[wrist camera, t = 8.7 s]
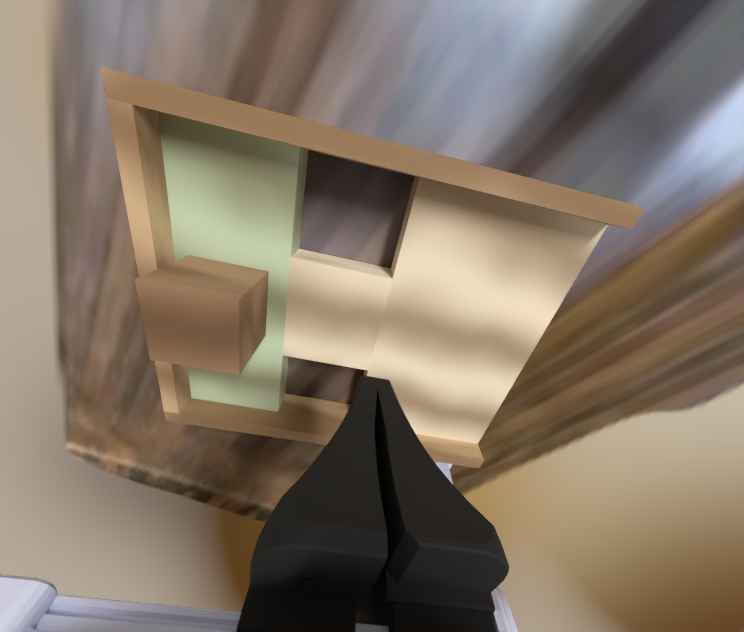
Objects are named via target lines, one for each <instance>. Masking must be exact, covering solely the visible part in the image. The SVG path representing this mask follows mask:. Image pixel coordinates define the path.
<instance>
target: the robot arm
mask: <svg viewBox="0 0 744 632" xmlns="http://www.w3.org/2000/svg"><path fill="white" fill-rule="evenodd" d="M451 466H452V464H448V463H441V462H434V461H433V459H432V458H431V457H430V455H429V454H428V452H427V451H426V449H425V448H424V446H423V445H422V443H421V442H420V440H419V439H418V437H417V435H416V434H415V432H414V430H413V428H412V427H411V425H410V423H409V421H408V419H407V417H406V416H405V414H404V412H403V410H402V408H401V406H400V403H399V401H398V399H397V397H396V394H395V392H394V390H393V387H392V385H391V382H390V381H389V380H387V379H382V378H376V377H370V376H365V375H362V376H360V378H359V382H358V385H357V389H356V393H355V397H354V399H353V402H352V404H351V406H350V408H349V410H348V412H347V414H346V416H345V417H344V419H343V421H342V423H341V425H340V426H339V428H338V429H337V431H336V433H335V434H334V436H333V437H332V439H331V440H330V441H329V443H328V444H327V446H326V447H325V448H324V450H323V451H322V452H321V454H320V455H319V456H318V458H317V459H316V460H315V461H314V462H313V463H312V465H311V466H310V467H309V468H308V469H307V471H306V472H305V473H304V474H303V475H302V476H301V477H300V479H299V480H298V481H297V482H296V483H295V484H294V485H293V486H292V487H291V488H290V489H289V490H288V491H287V492H286V493H285V494H284V495H283V496H282V498H281V499H280V501H279V503H278V504H277V506H276V507H275V509H274V510H273V512H272V514H271V515H270V517H269V519H268V520H267V522H266V524H265V526H264V527H263V529H262V531H261V534H260V536H259V538H258V541H257V543H256V547H255V550H254V553H253V557H252V560H251V564H250V586H249V589H248V592H247V596H246V599H245V602H244V606H243V609H242V612H234V611H224V610H214V609H203V608H193V607H182V606H171V605H161V604H150V603H141V602H130V601H120V600H109V599H99V598H89V597H78V596H68V595H67V596H66V595H57V590H56V587H55V586H54V585H53V584H52V583H50V582H48V581H46V580H43V579H38V578H31V577H21V576H11V575H1V574H0V632H518V631H517V628H516V625H515V622H514V619H513V616H512V613H511V610H510V607H509V605H508V602H507V600H506V598H505V595H504V593H503V592H502V590H501V589H499V588H498V587H497V586H498V585H499V584H500V583H501V582H502V581H503V580H504V579H505V577H506V576H507V574H508V571H509V565H508V562H507V559H506V556H505V553H504V550H503V547H502V544H501V542H500V540H499V537H498V535H497V533H496V530H495V528H494V526H493V525H492V524H491V523H490V522H489V521H488V520H487V519H486V518H485V517H484V516H483V515H482V514H481V513H480V512H478V511H477V509H475V508H474V507H473V506H472V505H471V504H470V503H469V502H468V501H467V500H466V499H465V497H464V496H463V495H462V494H461V493H460V492H459V491H458V490H457V489H456V488H455V487H454V485H453V482H452V478H451V474H450V468H451Z"/></svg>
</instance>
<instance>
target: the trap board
mask: <svg viewBox="0 0 744 632" xmlns="http://www.w3.org/2000/svg"><path fill="white" fill-rule="evenodd" d="M101 73H102V78H103V84H104V89H105V94H106V100H107V105H108V111H109V116H110V121H111V127H112V132H113V138H114V143H115V148H116V154H117V159H118V165H119V170H120V176H121V181H122V186H123V192H124V197H125V203H126V208H127V213H128V219H129V224H130V230H131V235H132V240H133V246H134V251H135V257H136V262H137V267H138V273H139V277H141V276H143V275H145V274H147V273H150V272H152V271H154V270H156V269H158V268H161V267H163V266H165V265H167V264H170V263H172V262H174V261H176V260H179V259H181V258H183V257H185V256H188V255H192V256H196V257H201V258H206V259H211V260H216V261H221V262H225V263H230V264H235V265H240V266H245V267H250V268H255V269H259V270H264V271H269V275H268V297H267V319H266V336H265V337H264V339H263V340H262V342H261V343H260V345H259V346H258V348H257V349H256V351H255V352H254V354H253V355H252V357H251V358H250V360H249V361H248V363H247V364H246V366H245V367H244V369H243V370H242V372H241V373H240V375H236V374H231V373H225V372H219V371H213V370H207V369H201V368H195V367H189V366H184V365H178V364H172V363H166V362H160V361H155V365H156V370H157V376H158V381H159V386H160V392H161V397H162V403H163V408H164V414H165V419H166V421H169V422H176V423H182V424H189V425H196V426H202V427H209V428H216V429H222V430H229V431H235V432H242V433H249V434H255V435H262V436H269V437H275V438H282V439H289V440H295V441H302V442H308V443H315V444H322V445H327V444H328V443H329V441H330V440H331V439H332V437H333V436H334V434H335V433H336V431H337V429H338V428H339V426H340V425H341V423H342V421H343V419H344V417H345V416H346V414H347V412H348V410H349V408H350V406H351V404H346V403H340V402H334V401H328V400H322V399H315V398H309V397H303V396H297V395H291V394H285V393H286V382H287V372H288V361H289V357H295V358H300V359H306V360H312V361H317V362H323V363H328V364H334V365H340V366H345V367H351V368H356V369H362V370H364V374H363V375H365V376H370V377H376V378H382V379H387V380H389V381H390V382H391V385H392V387H393V390H394V392H395V394H396V397H397V399H398V401H399V403H400V406H401V408H402V410H403V412H404V414H405V416H406V417H407V419H408V421H409V423H410V425H411V427H412V428H413V430H414V432H415V434H416V435H417V437H418V439H419V440H420V442H421V443H422V445H423V446H424V448H425V449H426V451H427V452H428V454H429V455H430V457H431V458H432V459H433V461H434V462H441V463H448V464H454V465H461V466H468V467H474V468H480V466H481V464H482V463H483V461H484V459H483V456H482V454H481V451H480V449H479V446H478V442H479V441H480V439H481V437H482V436H483V434H484V432H485V431H486V429H487V427H488V425H489V424H490V422H491V420H492V419H493V417H494V415H495V414H496V412H497V410H498V409H499V407H500V405H501V404H502V402H503V400H504V399H505V397H506V395H507V394H508V392H509V390H510V388H511V387H512V385H513V383H514V382H515V380H516V378H517V377H518V375H519V373H520V372H521V370H522V368H523V367H524V365H525V363H526V362H527V360H528V358H529V357H530V355H531V353H532V351H533V350H534V348H535V346H536V345H537V343H538V341H539V340H540V338H541V336H542V335H543V333H544V331H545V330H546V328H547V326H548V325H549V323H550V321H551V320H552V318H553V316H554V314H555V313H556V311H557V309H558V308H559V306H560V304H561V303H562V301H563V299H564V298H565V296H566V294H567V293H568V291H569V289H570V288H571V286H572V284H573V283H574V281H575V279H576V277H577V276H578V274H579V272H580V271H581V269H582V267H583V266H584V264H585V262H586V261H587V259H588V257H589V256H590V254H591V252H592V251H593V249H594V247H595V246H596V244H597V242H598V240H599V239H600V237H601V235H602V234H603V232H604V230H605V229H606V227H607V225H608V224H610V225H615V226H619V227H624V228H629V229H632V228H633V226H634V224H635V223H636V221H637V220H638V218H639V217H640V215H641V214H642V212H643V210H644V209H645V208H644V207H640V206H637V205H633V204H629V203H625V202H621V201H617V200H613V199H610V198H606V197H602V196H598V195H594V194H590V193H586V192H583V191H579V190H575V189H571V188H567V187H563V186H559V185H555V184H552V183H548V182H544V181H540V180H536V179H532V178H528V177H525V176H521V175H517V174H513V173H509V172H505V171H501V170H498V169H494V168H490V167H486V166H482V165H478V164H474V163H470V162H467V161H463V160H459V159H455V158H451V157H447V156H443V155H440V154H436V153H432V152H428V151H424V150H420V149H416V148H413V147H409V146H405V145H401V144H397V143H393V142H389V141H385V140H382V139H378V138H374V137H370V136H366V135H362V134H358V133H355V132H351V131H347V130H343V129H339V128H335V127H331V126H328V125H324V124H320V123H316V122H312V121H308V120H304V119H301V118H297V117H293V116H289V115H285V114H281V113H277V112H273V111H270V110H266V109H262V108H258V107H254V106H250V105H246V104H243V103H239V102H235V101H231V100H227V99H223V98H219V97H216V96H212V95H208V94H204V93H200V92H196V91H192V90H188V89H185V88H181V87H177V86H173V85H169V84H165V83H161V82H158V81H154V80H150V79H146V78H142V77H138V76H134V75H131V74H127V73H123V72H119V71H115V70H111V69H107V68H103V67H101ZM309 150H310V151H314V152H318V153H322V154H326V155H330V156H334V157H338V158H342V159H346V160H350V161H354V162H358V163H362V164H366V165H370V166H374V167H378V168H382V169H386V170H390V171H394V172H398V173H402V174H406V175H411V176H415V177H414V181H413V185H412V189H411V193H410V196H409V200H408V204H407V208H406V212H405V216H404V220H403V223H402V227H401V231H400V235H399V239H398V243H397V247H396V250H395V254H394V258H393V262H392V266H391V268H387V267H382V266H377V265H373V264H368V263H363V262H359V261H354V260H349V259H345V258H340V257H335V256H331V255H326V254H321V253H317V252H312V251H308V250H303V249H299V246H300V235H301V225H302V214H303V204H304V193H305V183H306V172H307V162H308V151H309Z"/></svg>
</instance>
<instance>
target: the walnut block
mask: <svg viewBox="0 0 744 632" xmlns="http://www.w3.org/2000/svg"><path fill="white" fill-rule="evenodd" d="M268 275H269V271H264V270H259V269H255V268H250V267H245V266H240V265H235V264H230V263H225V262H221V261H216V260H211V259H206V258H201V257H196V256H192V255H188V256H185V257H183V258H181V259H179V260H176V261H174V262H172V263H170V264H167V265H165V266H163V267H161V268H158V269H156V270H154V271H152V272H150V273H147V274H145V275H143V276H141V277H138V278H136V279H135V284H136V289H137V294H138V299H139V304H140V309H141V315H142V320H143V325H144V330H145V335H146V340H147V346H148V351H149V356H150V360H154V361H160V362H166V363H172V364H178V365H184V366H189V367H195V368H201V369H207V370H213V371H219V372H225V373H231V374H236V375H240V373H241V372H242V370H243V369H244V367H245V366H246V364H247V363H248V361H249V360H250V358H251V357H252V355H253V354H254V352H255V351H256V349H257V348H258V346H259V345H260V343H261V342H262V340H263V339H264V337H265V336H266V319H267V297H268Z"/></svg>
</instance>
